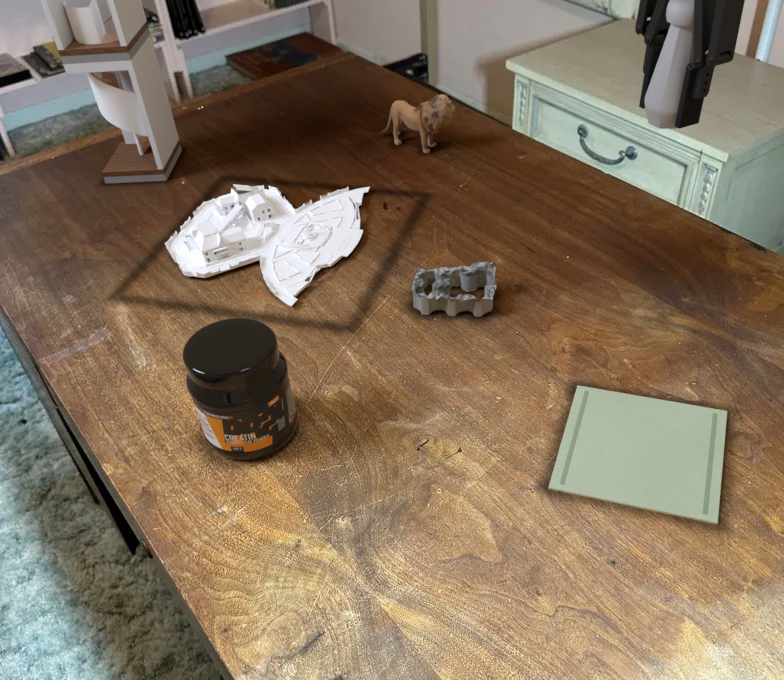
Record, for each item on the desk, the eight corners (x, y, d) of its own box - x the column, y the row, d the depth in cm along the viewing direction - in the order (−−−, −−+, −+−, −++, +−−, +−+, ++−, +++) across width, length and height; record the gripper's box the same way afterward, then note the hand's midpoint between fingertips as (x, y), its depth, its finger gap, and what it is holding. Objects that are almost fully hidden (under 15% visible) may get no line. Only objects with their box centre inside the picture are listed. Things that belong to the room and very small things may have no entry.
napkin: (577, 387, 87) (577, 384, 86) (726, 412, 82) (727, 410, 82) (548, 489, 77) (548, 487, 76) (717, 525, 72) (717, 522, 72)
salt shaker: (694, 132, 87) (722, 5, 77) (642, 132, 88) (663, 6, 78) (690, 111, 91) (716, -13, 81) (640, 111, 92) (660, -12, 82)
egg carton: (498, 287, 101) (499, 260, 98) (491, 321, 96) (492, 294, 93) (419, 282, 103) (418, 255, 100) (408, 315, 98) (406, 288, 95)
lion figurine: (460, 145, 131) (459, 91, 124) (444, 158, 128) (443, 103, 121) (387, 131, 137) (383, 78, 130) (371, 143, 134) (366, 89, 127)
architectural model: (130, 286, 106) (120, 259, 103) (231, 176, 127) (226, 151, 124) (316, 310, 99) (312, 282, 96) (391, 189, 120) (389, 163, 117)
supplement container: (193, 461, 83) (161, 377, 74) (221, 396, 90) (195, 312, 81) (287, 467, 81) (266, 381, 72) (308, 400, 88) (291, 314, 80)
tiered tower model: (124, 153, 138) (48, -79, 112) (182, 150, 137) (118, -84, 112) (105, 183, 130) (19, -59, 105) (166, 180, 129) (94, -64, 104)
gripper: (621, -142, 77) (593, 95, 94) (755, -113, 65) (695, 153, 81) (682, -154, 79) (644, 81, 95) (824, -127, 67) (751, 136, 83)
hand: (668, 114), depth 88 cm, fingers closed on salt shaker, 6 cm apart
